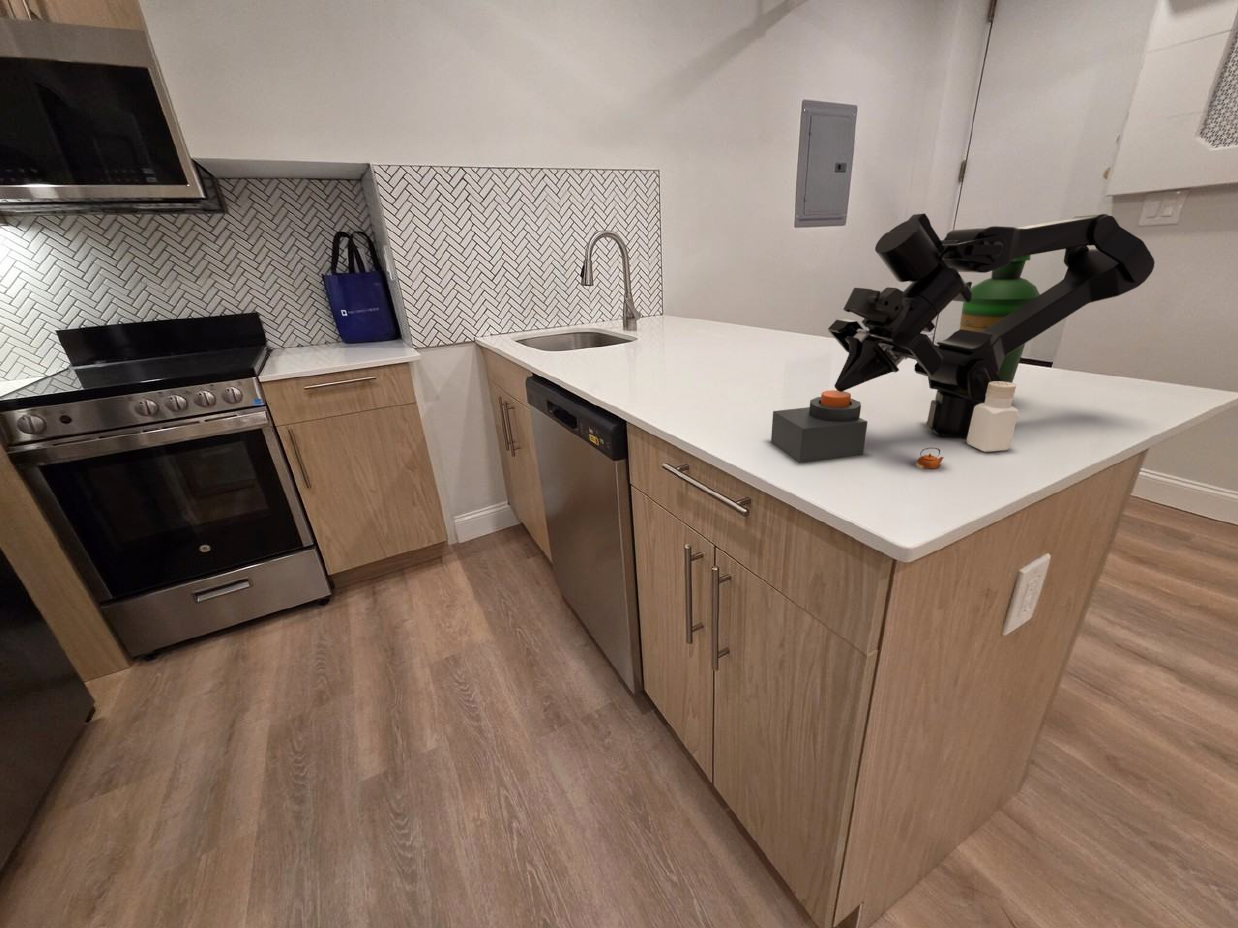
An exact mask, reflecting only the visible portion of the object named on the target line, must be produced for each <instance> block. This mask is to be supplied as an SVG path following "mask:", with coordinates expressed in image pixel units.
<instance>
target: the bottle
mask: <svg viewBox="0 0 1238 928" xmlns="http://www.w3.org/2000/svg"><path fill="white" fill-rule="evenodd" d="M1027 261H1031V255H1028V256H1022V257H1019V258H1016V259H1014V260H1012V261H1011V262H1010V263H1009V264H1008V265H1006V266H1003V267H1000V268H998V269H995V270H992V271H991V276H990V277H989V278H986V279H983V280H982V281H980V282H978V283H977V284H975V285H972V286H971V292H972V299H971V301H970V302H962V308H961V316H960V321H959V322H960V323H959V329H958V330H960V329H964V330H970V331H977V332H982V331H984V330H985V329H987V328H989V327H990V326H992V325H993V324H995V323H996V322H998V321H1000V320H1001V319H1003V318H1004V317H1006V316H1007V315H1009V314H1011V313H1012V312H1014V311H1015V310H1017V309H1018V308H1020V307H1022V306H1023V305H1025V304H1026V303H1028V302H1029V301H1031V300H1033V299H1034V298H1036V297H1037V296H1039V295H1040V294H1041V293H1040V292H1039V290H1038V288H1037V286H1036V285H1035V284H1033V283H1032V282H1030V281H1029V280H1027V279H1026V278H1024V277H1021V276H1022V273H1023V271H1024V268H1025V265H1026V262H1027ZM1025 346H1026V343H1025V344H1023V345H1022V346H1020V347H1019V348H1017V349H1015V350H1014V351H1012V352H1011V353H1009V354H1008V355H1006V356H1005V357H1004V360H1003V362H1002V365H1001V367H1000V370H999V371H998V372H997V374H998V375H999V377H1000V378H1001V380H1002V381H1003V382H1010V383H1014V379H1015V376H1016V373H1017V370H1018V367H1019V364H1020V361H1021V358H1022V355H1023V352H1024V349H1025Z"/></svg>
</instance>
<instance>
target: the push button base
mask: <svg viewBox="0 0 1238 928" xmlns="http://www.w3.org/2000/svg"><path fill="white" fill-rule="evenodd" d="M820 403H821V396H817V397H814V398H812V399H810V400H809V406H808V407H807V406H806V407H797V408H788V409H782V410H781V409H780V410H773V411H772V420H771V422H772V423H771V434H770V443H771V444H773V445H774V446H775V447H777V448H778V449H780V450H781V451H782V452H784V453H785V454H787V456H789V457H790V458H792V459H793V460H795V461H796V462H797V463H799V464H804V463H810V462H820V461H826V460H827V461H828V460H834V459H842V458H849V457H850V458H851V457H858V456H864V449H865V443H866V436H867V427H868V420H865V419H863V418H861V417H860V416H861V409H862V403H861V402H860V401H859V400H857V399H854V398H851V399H850V406H847V407H829V406H824V405H821V404H820Z"/></svg>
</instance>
